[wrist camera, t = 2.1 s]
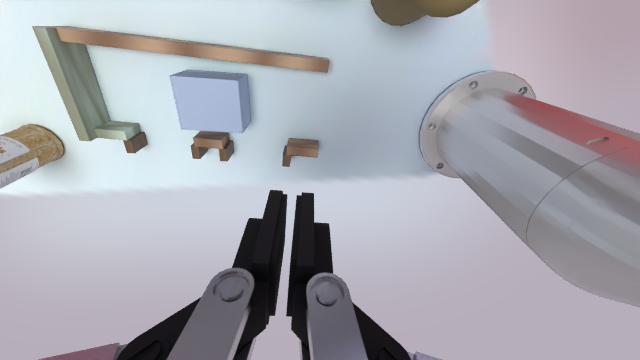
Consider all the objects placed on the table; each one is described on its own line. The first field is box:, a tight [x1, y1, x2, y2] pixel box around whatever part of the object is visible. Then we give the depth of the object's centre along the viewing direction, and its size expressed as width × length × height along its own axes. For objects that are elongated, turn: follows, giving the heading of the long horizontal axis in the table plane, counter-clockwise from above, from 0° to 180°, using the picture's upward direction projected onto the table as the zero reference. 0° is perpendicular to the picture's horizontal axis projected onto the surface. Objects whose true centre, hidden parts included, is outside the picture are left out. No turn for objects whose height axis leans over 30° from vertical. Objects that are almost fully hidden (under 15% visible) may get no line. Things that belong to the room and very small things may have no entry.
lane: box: [32, 26, 329, 167], centre depth 26 cm, size 24×12×4 cm, turn 84°
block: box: [170, 70, 251, 133], centre depth 25 cm, size 6×5×4 cm
